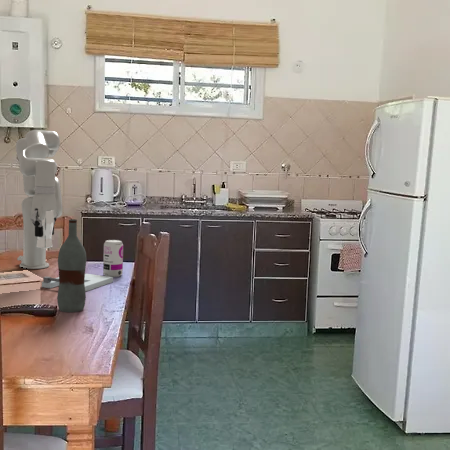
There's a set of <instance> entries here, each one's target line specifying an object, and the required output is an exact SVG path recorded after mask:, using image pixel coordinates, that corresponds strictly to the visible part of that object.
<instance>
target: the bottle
mask: <svg viewBox="0 0 450 450" xmlns="http://www.w3.org/2000/svg"><path fill="white" fill-rule="evenodd" d="M77 224H78V220H77V219H74V218H71V219H68V235H67V237H66V239H65V241H64V242H63V243H62V245H61V246H60V248H59V251H58V256H57V267H58V268H57V269H58V277H59V286H58V288H57V289H58V290H57V297H56V300H57V307H58V310H59V311H60V312H63V313H77V312H81V311H83V310H84V308H85V305H86V300H87V295H86V292H85V285H84V279H85V273H86V269H87V268H86V266H87V252H86V249H85V247H84V245H83V243H82V242H81V241H80V238H79V237H78V235H77V234H78V227H77V226H78V225H77Z"/></svg>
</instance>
